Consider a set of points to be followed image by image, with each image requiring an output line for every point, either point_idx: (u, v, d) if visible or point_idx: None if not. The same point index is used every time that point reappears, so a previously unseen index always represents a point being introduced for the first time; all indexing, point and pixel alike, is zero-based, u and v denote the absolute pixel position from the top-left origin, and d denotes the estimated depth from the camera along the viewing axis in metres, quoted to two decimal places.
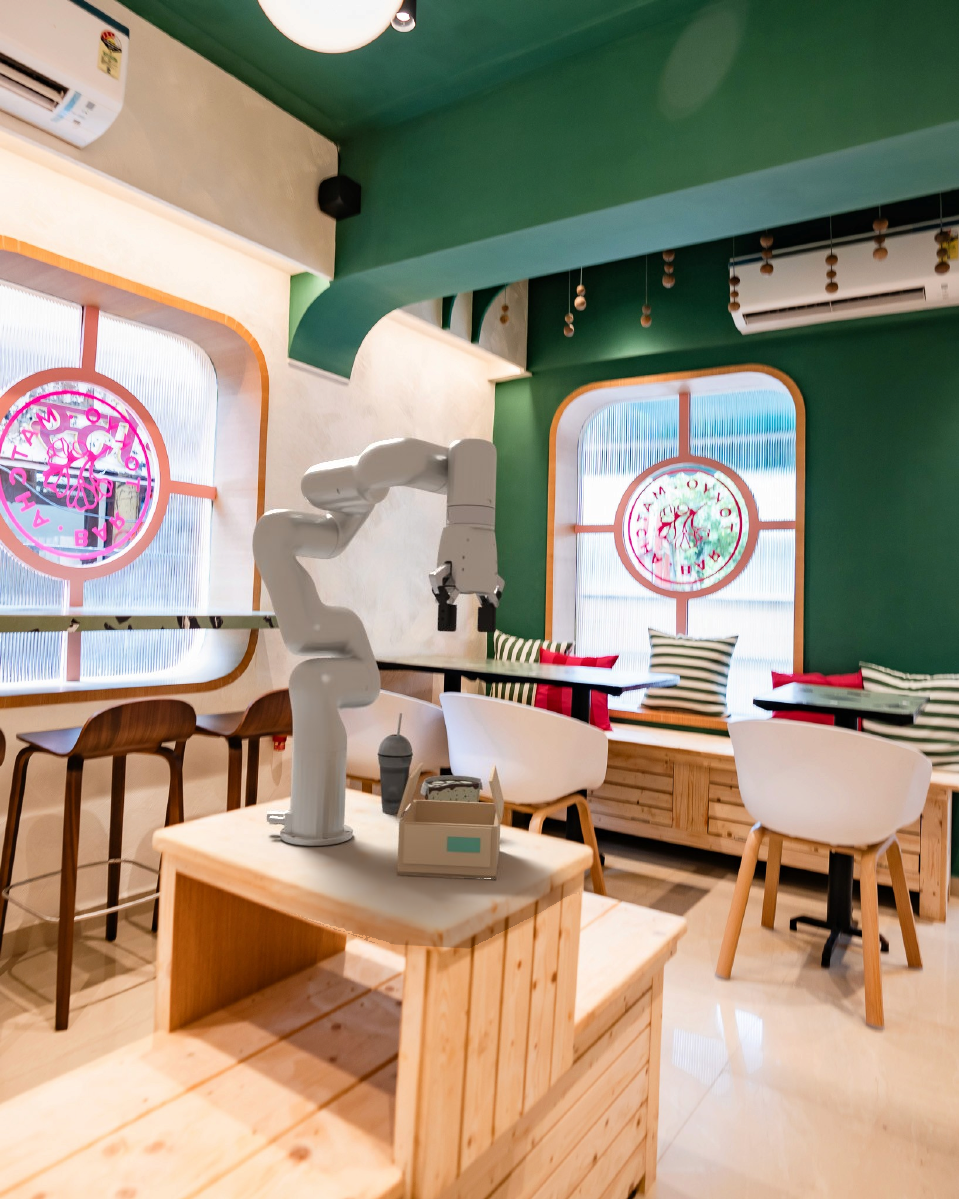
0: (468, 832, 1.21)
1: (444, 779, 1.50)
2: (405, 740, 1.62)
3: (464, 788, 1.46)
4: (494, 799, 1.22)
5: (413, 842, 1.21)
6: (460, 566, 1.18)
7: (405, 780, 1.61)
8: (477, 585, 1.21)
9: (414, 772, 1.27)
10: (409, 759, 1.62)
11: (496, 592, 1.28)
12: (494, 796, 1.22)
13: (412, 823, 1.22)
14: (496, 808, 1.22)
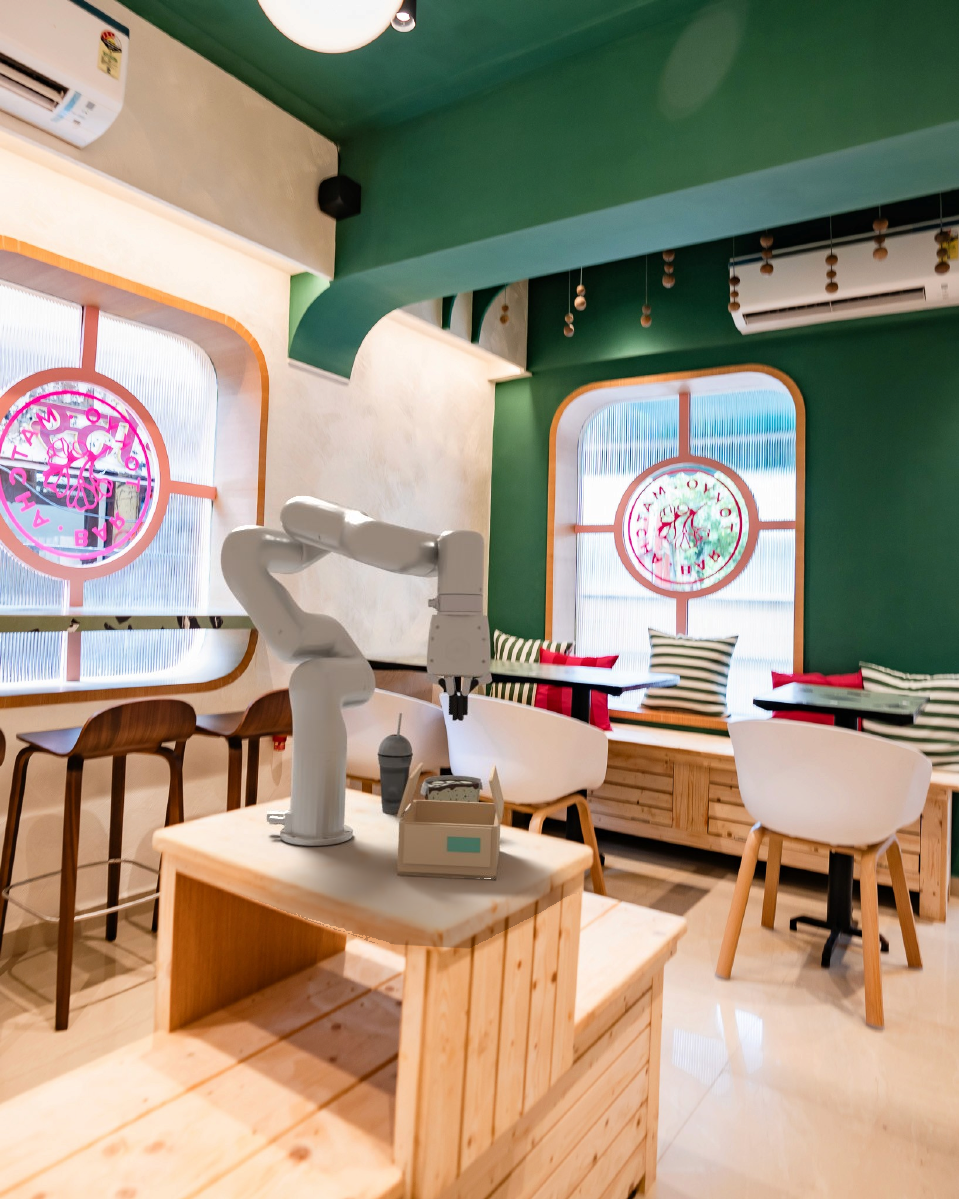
0: (468, 832, 1.21)
1: (444, 779, 1.50)
2: (405, 740, 1.62)
3: (464, 788, 1.46)
4: (494, 799, 1.22)
5: (413, 842, 1.21)
6: None
7: (405, 780, 1.61)
8: None
9: (414, 772, 1.27)
10: (409, 759, 1.62)
11: None
12: (494, 796, 1.22)
13: (412, 823, 1.22)
14: (496, 808, 1.22)
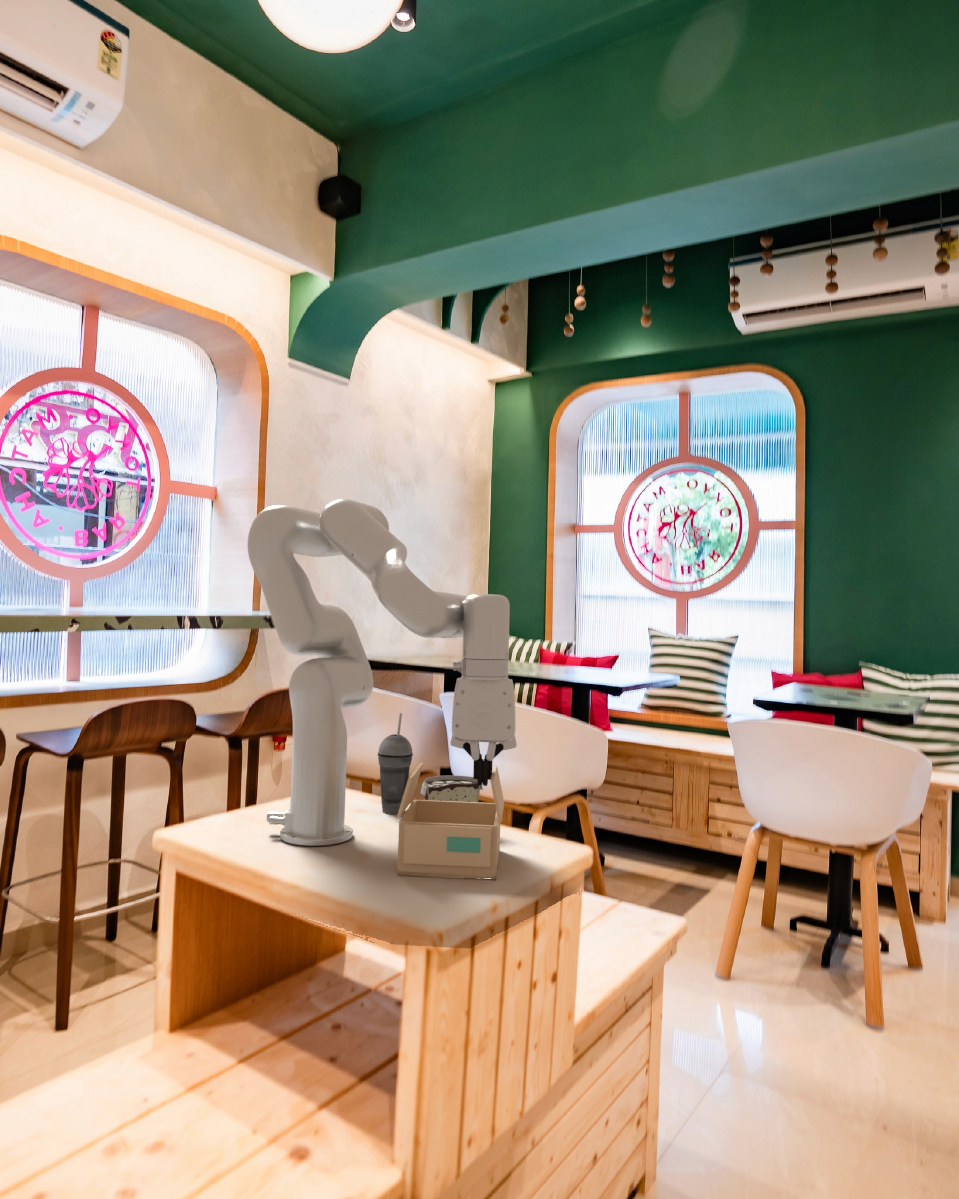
0: (468, 832, 1.21)
1: (444, 779, 1.50)
2: (405, 740, 1.62)
3: (464, 788, 1.46)
4: (495, 799, 1.22)
5: (413, 842, 1.21)
6: None
7: (405, 780, 1.61)
8: None
9: (414, 772, 1.27)
10: (409, 759, 1.62)
11: None
12: (495, 796, 1.22)
13: (412, 823, 1.22)
14: (497, 808, 1.22)
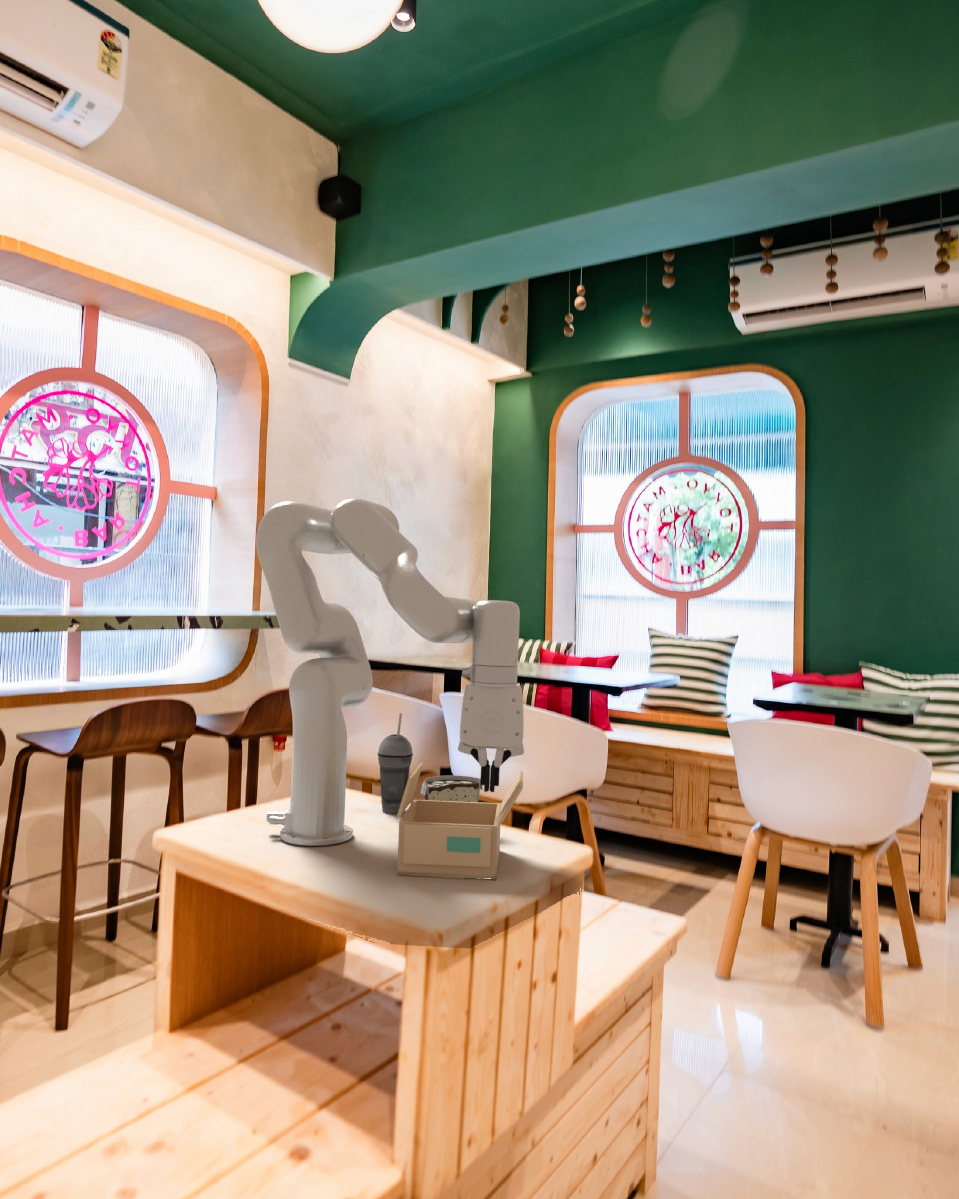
0: (468, 832, 1.21)
1: (444, 779, 1.50)
2: (405, 740, 1.62)
3: (464, 788, 1.46)
4: (511, 803, 1.22)
5: (413, 842, 1.21)
6: None
7: (405, 780, 1.61)
8: None
9: (414, 772, 1.27)
10: (409, 759, 1.62)
11: (478, 749, 1.30)
12: (513, 801, 1.22)
13: (412, 823, 1.22)
14: (506, 811, 1.22)
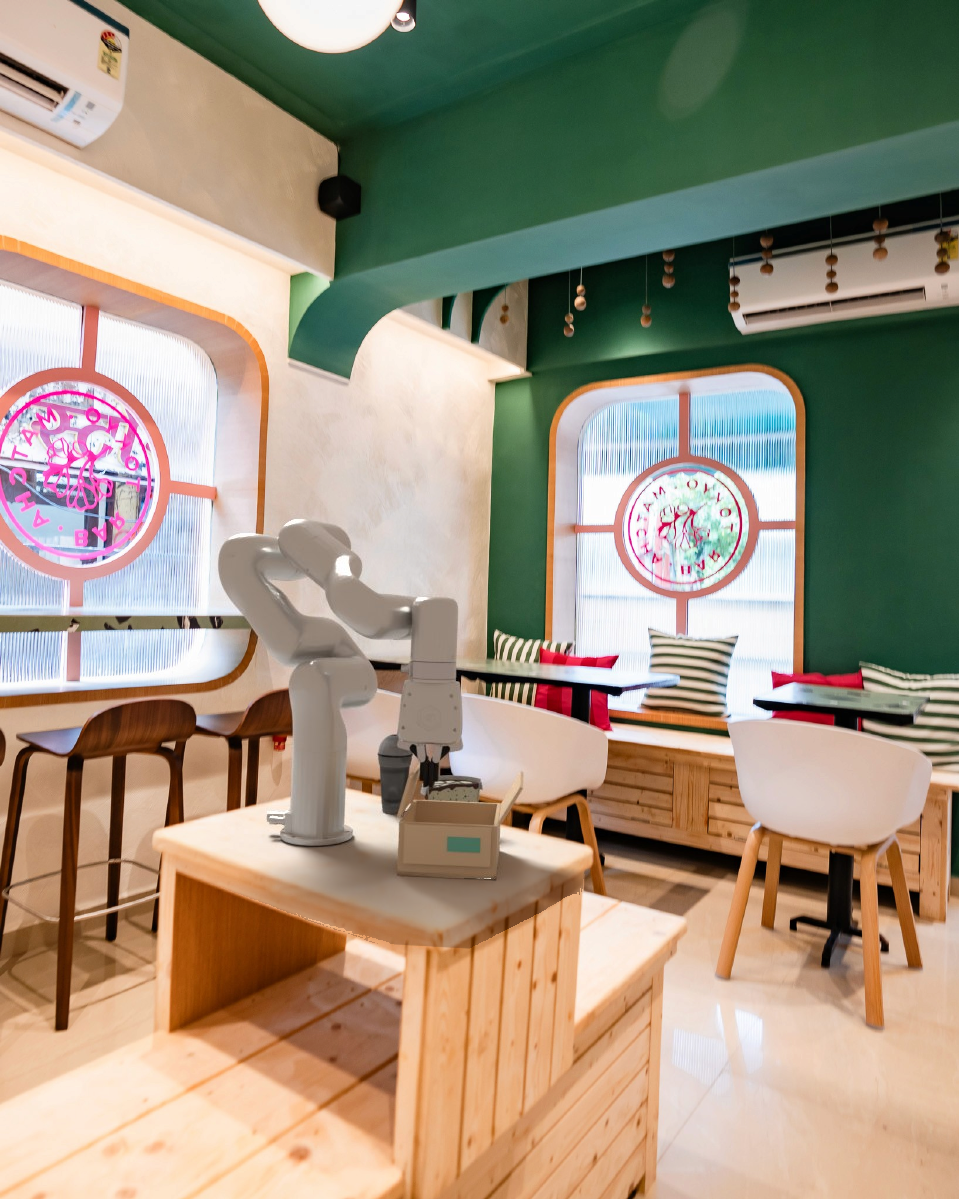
0: (468, 832, 1.21)
1: (444, 779, 1.50)
2: None
3: (464, 788, 1.46)
4: (511, 803, 1.22)
5: (413, 842, 1.21)
6: None
7: (405, 780, 1.61)
8: None
9: (414, 772, 1.27)
10: (409, 759, 1.62)
11: None
12: (513, 801, 1.22)
13: (412, 823, 1.22)
14: (506, 811, 1.22)
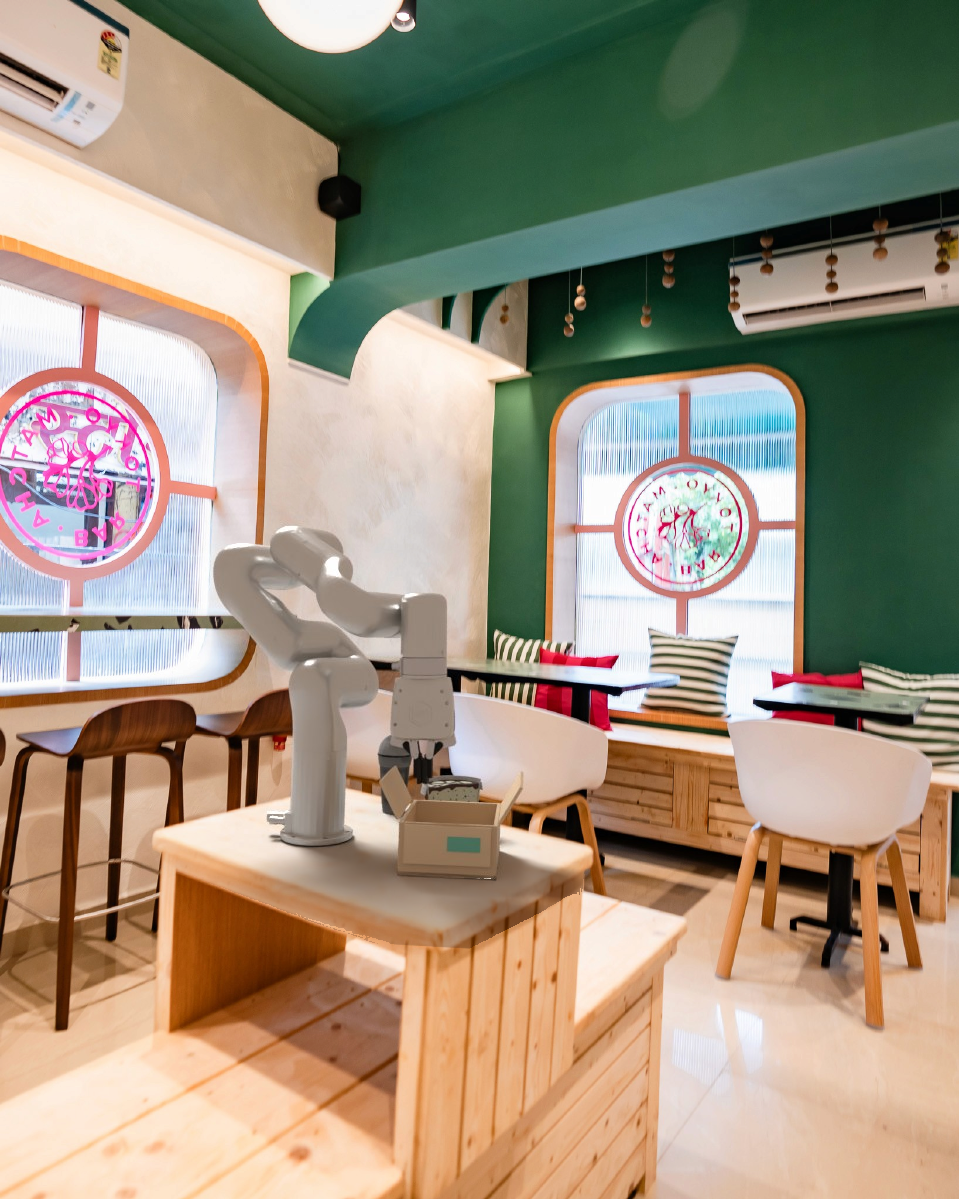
0: (468, 832, 1.21)
1: (444, 779, 1.50)
2: None
3: (464, 788, 1.46)
4: (511, 803, 1.22)
5: (413, 842, 1.21)
6: None
7: (405, 780, 1.61)
8: None
9: (385, 775, 1.28)
10: (409, 759, 1.62)
11: None
12: (513, 801, 1.22)
13: (412, 823, 1.22)
14: (506, 811, 1.22)
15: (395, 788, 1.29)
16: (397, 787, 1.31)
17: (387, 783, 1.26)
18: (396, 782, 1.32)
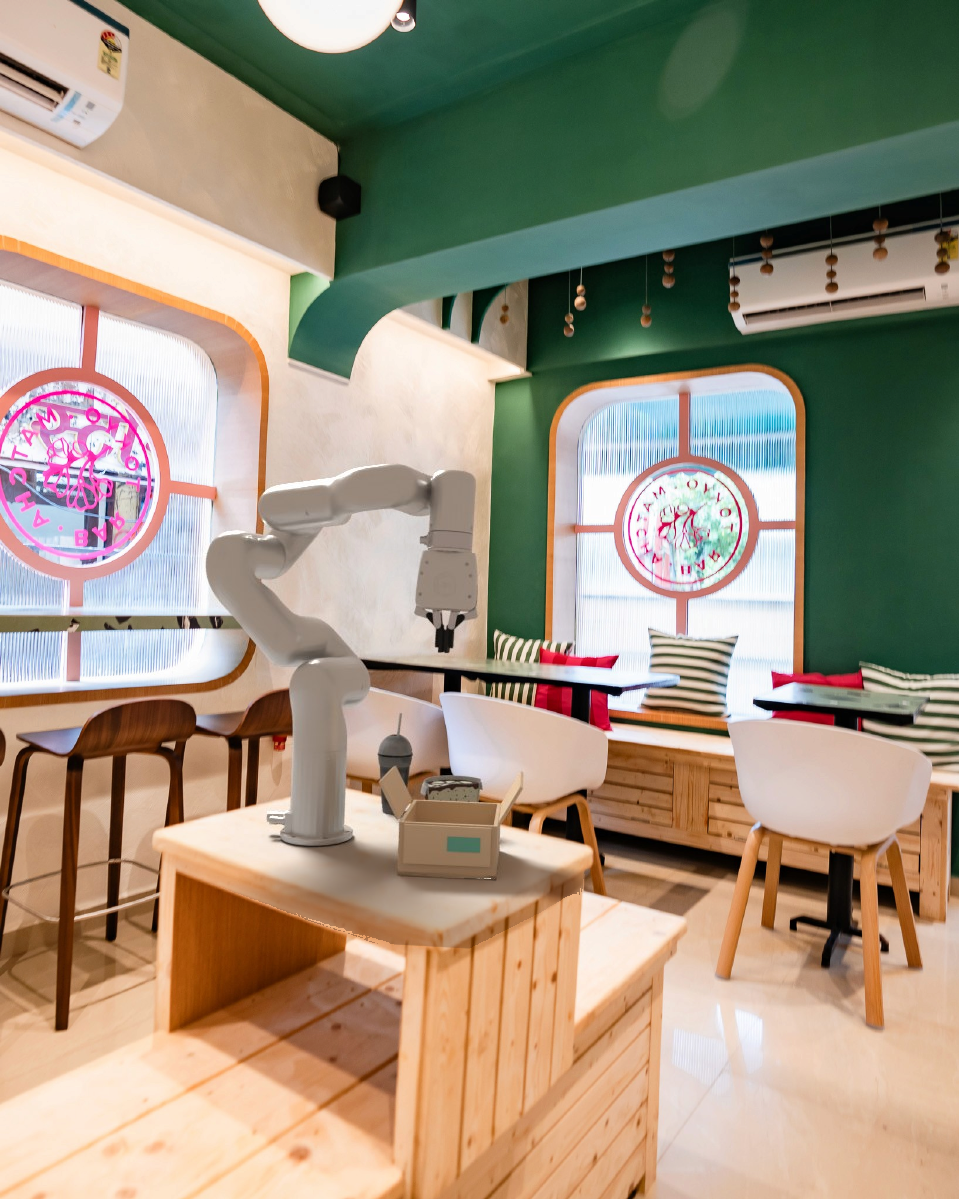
0: (468, 832, 1.21)
1: (444, 779, 1.50)
2: (405, 740, 1.62)
3: (464, 788, 1.46)
4: (511, 803, 1.22)
5: (413, 842, 1.21)
6: None
7: (405, 780, 1.61)
8: None
9: (385, 775, 1.28)
10: (409, 759, 1.62)
11: None
12: (513, 801, 1.22)
13: (412, 823, 1.22)
14: (506, 811, 1.22)
15: (395, 788, 1.29)
16: (397, 787, 1.31)
17: (387, 783, 1.26)
18: (396, 782, 1.32)
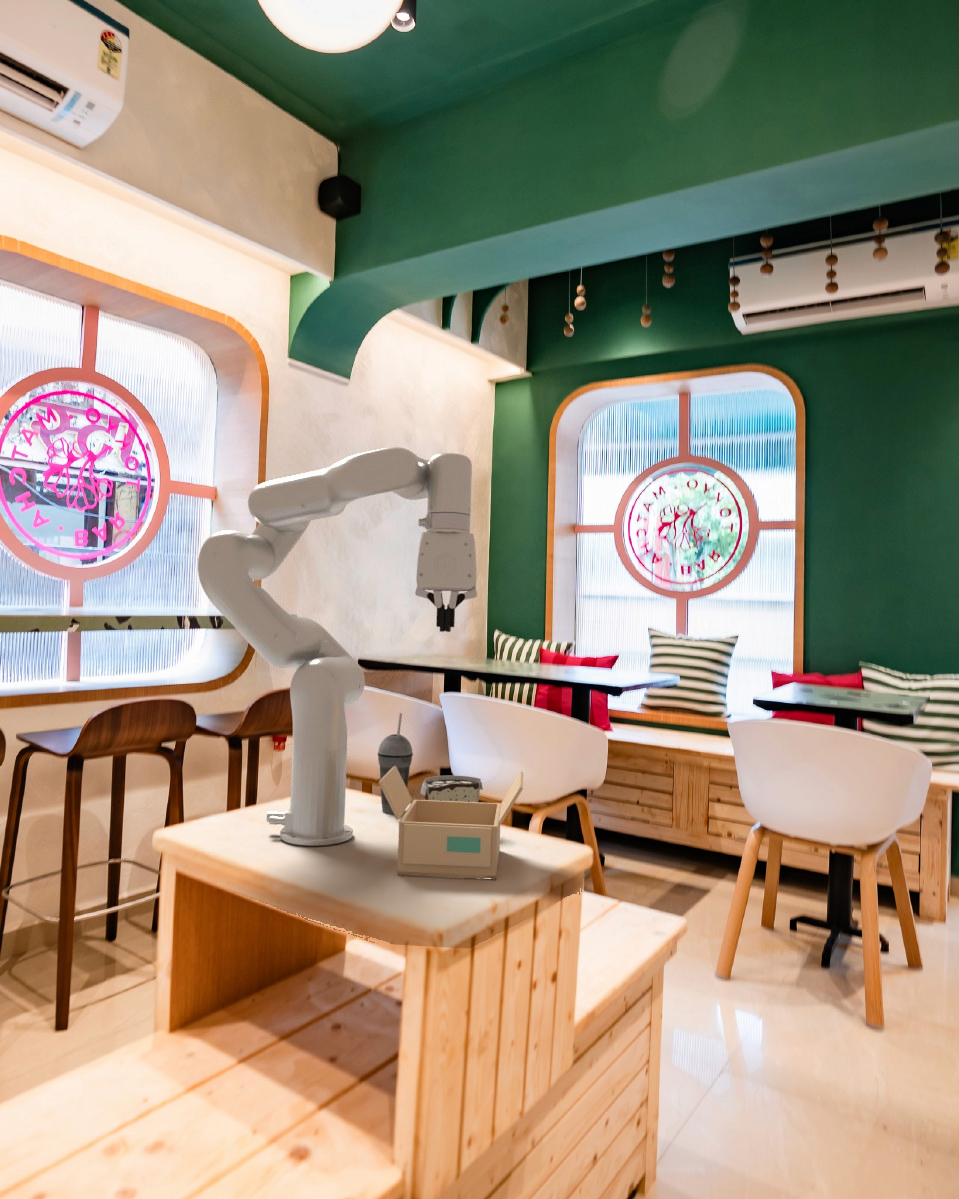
0: (468, 832, 1.21)
1: (444, 779, 1.50)
2: (405, 740, 1.62)
3: (464, 788, 1.46)
4: (511, 803, 1.22)
5: (413, 842, 1.21)
6: None
7: (405, 780, 1.61)
8: None
9: (385, 775, 1.28)
10: (409, 759, 1.62)
11: None
12: (513, 801, 1.22)
13: (412, 823, 1.22)
14: (506, 811, 1.22)
15: (395, 788, 1.29)
16: (397, 787, 1.31)
17: (387, 783, 1.26)
18: (396, 782, 1.32)
